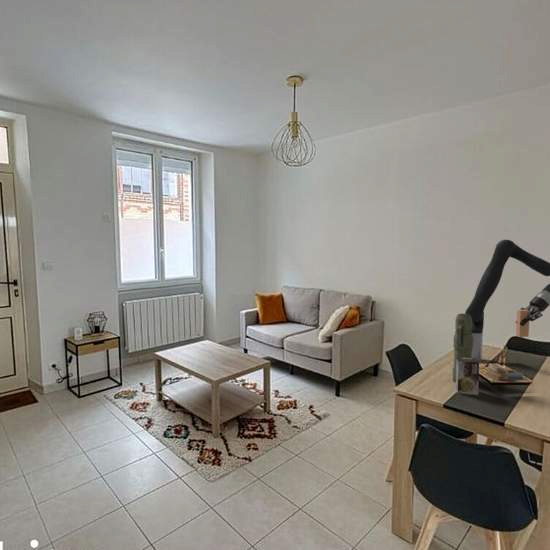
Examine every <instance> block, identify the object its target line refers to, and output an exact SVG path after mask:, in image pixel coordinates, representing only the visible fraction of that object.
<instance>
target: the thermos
mask: <svg viewBox="0 0 550 550" xmlns="http://www.w3.org/2000/svg"><path fill="white" fill-rule="evenodd" d="M455 317H456V318H455V322H454V323H455V324H454V325H455V327H454V329H455V332H454V335H453V349H454V351H453V352H454V355H453V357H454V359H453V367H452V381H453V382H454V383H456V357H466V358H471V357H472V349H473V337H472V318H471V316H470V315H469V314H465V313H458V314H457V315H456V316H455Z"/></svg>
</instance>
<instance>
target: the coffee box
mask: <svg viewBox="0 0 550 550" xmlns="http://www.w3.org/2000/svg"><path fill="white" fill-rule="evenodd" d="M479 381H480V361H479V362H478V360H477V358H466V357H456V382H455V389H456V393H457V394H461V395H469V396H470V395H471V396H472V395H473V396H479V392H480V391H479V388H480V387H479V384H480V383H479Z"/></svg>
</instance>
